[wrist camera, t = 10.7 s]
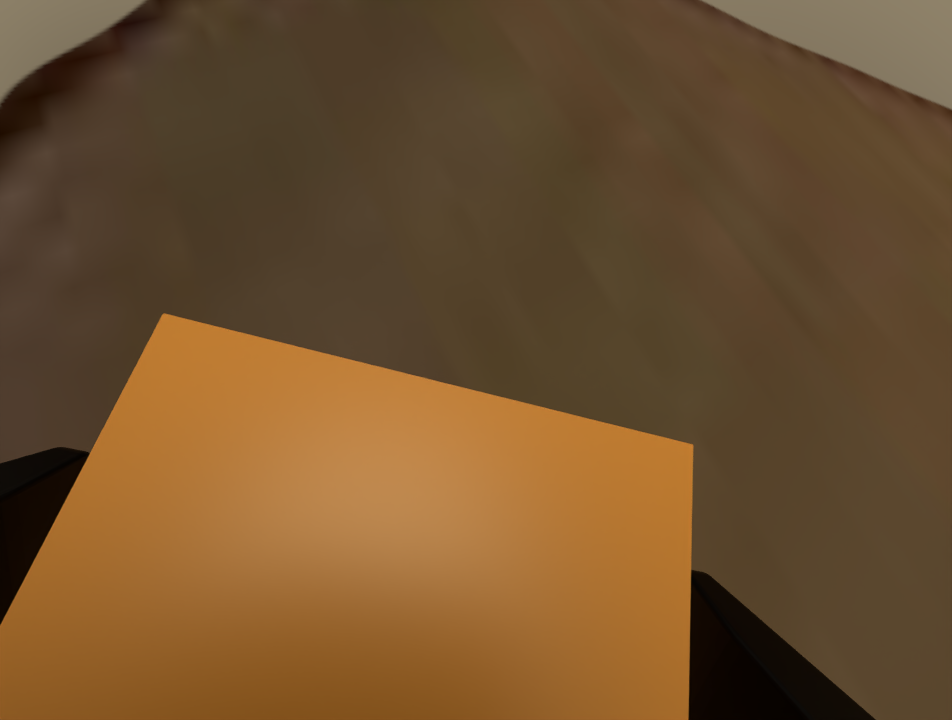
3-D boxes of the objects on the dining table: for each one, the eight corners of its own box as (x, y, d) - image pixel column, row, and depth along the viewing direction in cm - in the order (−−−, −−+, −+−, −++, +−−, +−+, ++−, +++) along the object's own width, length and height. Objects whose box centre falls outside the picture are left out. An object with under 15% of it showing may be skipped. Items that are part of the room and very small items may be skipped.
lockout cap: (438, 708, 15) (679, 1319, 3) (267, 675, 14) (-309, 1215, 2) (472, 531, 17) (693, 444, 5) (323, 498, 16) (163, 313, 4)
